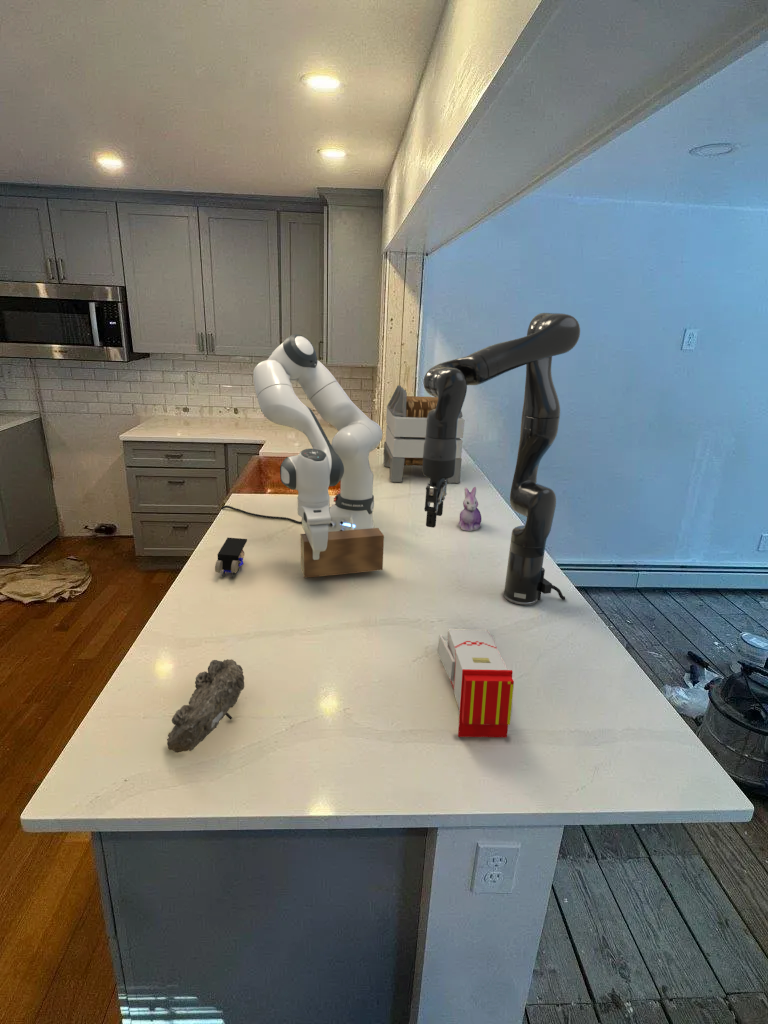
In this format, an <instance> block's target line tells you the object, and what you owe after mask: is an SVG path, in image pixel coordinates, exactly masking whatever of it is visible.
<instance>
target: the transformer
mask: <svg viewBox="0 0 768 1024" xmlns="http://www.w3.org/2000/svg"><path fill="white" fill-rule="evenodd" d="M407 394H408V393H407V390H406V389H404V388H403V387H402V385H399V384H398V385H397V386H396V388H395V390H394V392H393V394H392V395H391V398H390V400H389V402H388V404H387V405H386V413H385V414H386V415H385V423H386V428H385V438H384V442H383V466H384V467H388V468H389V475H388V476H389V477H388V478H389V480H390V482H391V483H402V482H403V475H404V469H405V466H406V467H407V466H411V467H412V466H413V467H415V466H416V467H417V466H418V467H422V465H423V450H424V442H425V436H426V424H427V415H428V413H429V412H430V411H431V410H433V409H436V406H437V402H438V398H437V397H434V396H415V395H414V396H413V395H412V396H411V395H407ZM464 429H465V419H464V418H463V411H461V412H460V414H459V417H458V423H457V435H456V446H457V447H456V459H455V470H454V475H453V477H451V478H447V484H448V483H449V484H455V483H456V484H459V483H461V472H462V461H463V460H462V453H463V442H464V441H463V440H462V439H463V438H464V431H465V430H464Z"/></svg>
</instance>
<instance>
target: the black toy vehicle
mask: <svg viewBox="0 0 768 1024" xmlns="http://www.w3.org/2000/svg"><path fill="white" fill-rule="evenodd" d="M247 542H248V538H240V537H226V539H225V541H224V543H223V544H222V546H221V547H220V549H219V551H218V552H217V560H216V562H215V564H214V572H215V573H221V577H222V578H224V577H225V576H226V574H227V573H230V574H231V573H232V574H231V578H234V577H235V575H236V573H237V572H239V571H240V567H242V566H243V565H244V564H245V562H244V558H245V551H244V547H245V546H246V544H247Z"/></svg>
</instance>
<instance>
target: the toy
mask: <svg viewBox="0 0 768 1024" xmlns="http://www.w3.org/2000/svg"><path fill="white" fill-rule="evenodd" d="M446 640H447V643H446V641H445V639H444V636H443V635H442V634H439V637H438V646H437V656H438V657H439V659H440V661H441V663H442V666H443V668H444V670H445V672H446V674H447V677H448V679H449V681H450V684H451V687H452V690H453V693H454V697H455V701H456V705H457V708H458V711H459V714H458V715H459V716H458V730H457V731H458V732H457V737H458V738H508V731H509V726H510V725H511V717H512V707H513V697H514V696H513V695H514V684H515V680H514V679H513V673H514V671H513V670H512V669H508V667H507V665H506V662H505V661H504V659H503V658H502V655H501V653H500V651H499V649H498V647H497V643H496V639H495V637H494V635H493V634H491V632H490V631H489V629H467V628H466V629H465V628H463V629H461V628H460V629H459V628H448V630H447V639H446Z"/></svg>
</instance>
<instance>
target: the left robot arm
mask: <svg viewBox="0 0 768 1024" xmlns="http://www.w3.org/2000/svg"><path fill="white" fill-rule="evenodd" d="M252 375H253V385H254V391H255V396H256V399H257V402H258V405H259V408H260V412H262V414H263V416H264V417H265V419H267V420H268V421H270V422H272V423H273V424H276V425H279V426H283V427H289V428H291V429H295V430H296V431H298V432H301V433H303V434H304V435H305V437H306V438H307V440H308V442H309V443H310V446H311V447H312V448H305V449H302V450H301V451H299V453H298V454H296V455H295V454H294V455H290V456H287V457H285V458H284V459H283V460H282V462H281V464H280V466H279V474H280V475H279V477H280V482H281V483H282V484H283V485H284V486H285V487H286V488H287V489H289V490H292V491H297V492H298V493H297V516H299V517H300V518H301V521H300V520H299V521H298V520H295V519H293V518H292V517H291V518H290V517H286V516H273V515H264V514H258V513H253V512H249V511H245V510H243V509H240V508H236V507H233V506H231V505H223V506H221V508H220V510H224V509H230V510H233V511H236V512H240V513H242V514H245V515H248V516H252V517H258V518H263V519H272V520H284V521H290V522H292V523H295V524H298V525H301V526H302V529H303V532H304V534H306V536H307V538H308V540H309V543H310V545H311V547H312V550H313V552H312V557H313V559H314V560H318V559H319V554H320V552H321V551H325V550H326V548H327V542H328V532H332V531H345V530H358V529H371V528H375V523H374V513H373V512H374V509H375V496H374V473H373V471H372V469H371V465H370V460H369V458H370V453H371V452H372V451H374V450H376V449H377V448H378V446H379V445H380V444H381V441H382V439H383V430H382V427H381V425H380V424H379V423H377V422H376V421H374V420H372V419H371V418H370V417H369V416H368V415H366V414H365V413H364V412H363V411H362V409H360V408H359V407H358V406H357V405H356V404H355V402H353V401H352V399H351V398H350V397H349V395H348V394H347V393H346V391H345V390H344V389H343V387H342V386H341V384H340V383H339V381H338V380H337V379H336V377H335V376H334V375H333V374H332V372H331V371H330V370H329V369H328V368H327V367H326V366H325V365H324V364H323V363H322V362H321V361H319V360H318V356H317V353H316V349H315V347H314V345H313V343H312V342H311V341H310V340H309V338H307V337H306V336H304V335H302V334H298V333H293V334H290V335H289V336H287V337H286V338H285V339H284V340H283V342H282V343H281V344H280V345H278V346H277V347H276V348H275V349H273V351H272V352H271V354H270V355H269V357H268V358H267V359H265V360H262V361H260V362H259V363H258V364H256V366H255V367H254V368H253V373H252ZM295 383H298V384H299V385H300V387H301V389H302V391H303V393H304V394H305V395H306V397H307V399H308V400H309V401H310V403H311V404H312V406H313V408H314V409H315V410H316V411H317V413H318V414H319V416H320V418H321V419H322V420H323V421H324V422H326V423H327V424H329V425H331V426H332V427H334V428H335V429H336V430H337V433H335V434H334V436H333V437H332V440H331V441H330V440H329V438H328V436H327V435H326V433H325V431H324V429H323V426H322V425H321V423H320V421H319V419H318V418H317V416H316V414H315V413H314V411H313V410H312V409H311V408H310V407H308V406H307V405H306V404H304V403H303V402H302V401H301V400H300V398H299V397H298V395H297V394H296V392H295V390H294V387H293V384H295ZM339 482H340V488H339V489H340V490H339V491H338V492H337V494H336V495H335V496H334V497H333V502H334V504H333V505H330V500H331V499H330V498H331V497H330V493H329V489H330V488H329V487H335V486H336V485H338V484H339Z"/></svg>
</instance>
